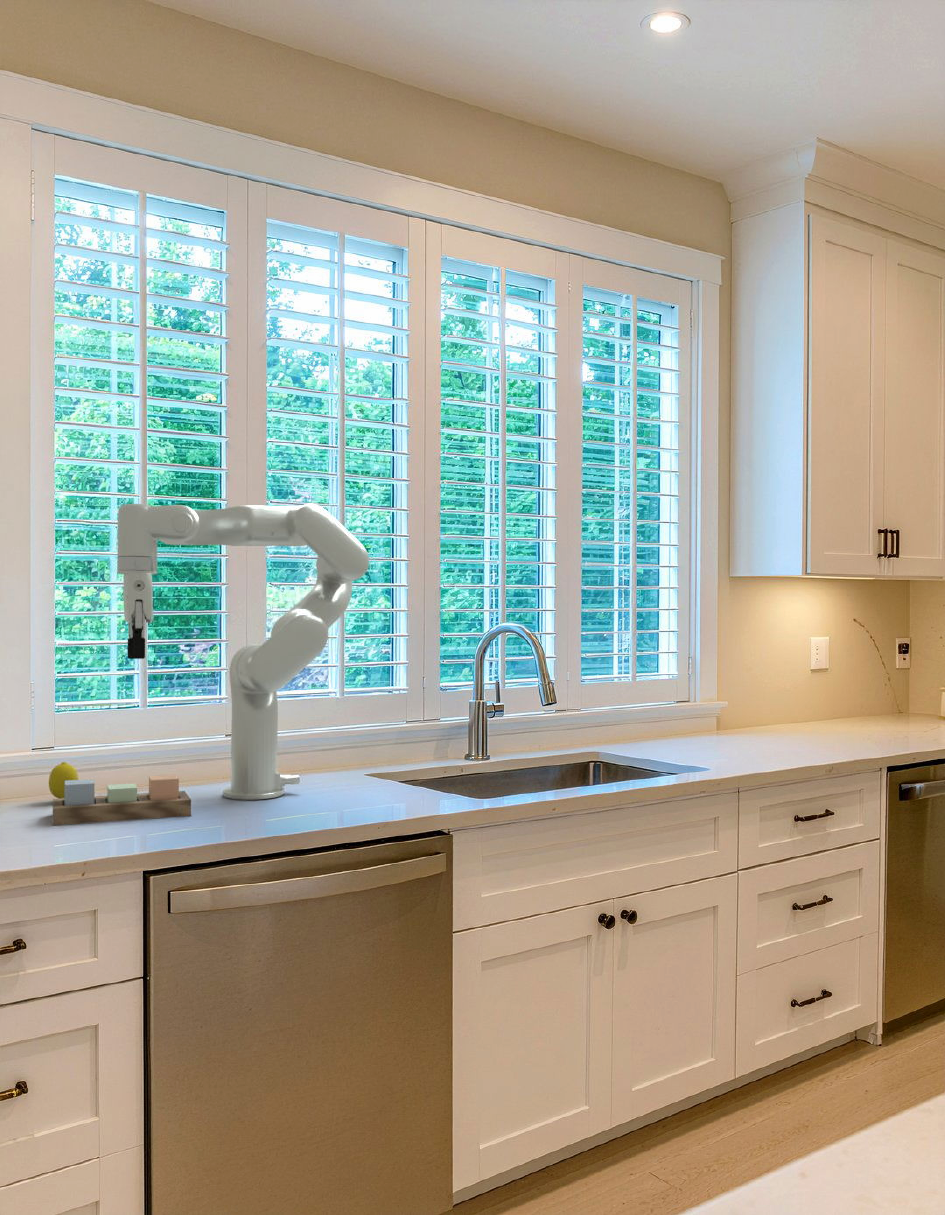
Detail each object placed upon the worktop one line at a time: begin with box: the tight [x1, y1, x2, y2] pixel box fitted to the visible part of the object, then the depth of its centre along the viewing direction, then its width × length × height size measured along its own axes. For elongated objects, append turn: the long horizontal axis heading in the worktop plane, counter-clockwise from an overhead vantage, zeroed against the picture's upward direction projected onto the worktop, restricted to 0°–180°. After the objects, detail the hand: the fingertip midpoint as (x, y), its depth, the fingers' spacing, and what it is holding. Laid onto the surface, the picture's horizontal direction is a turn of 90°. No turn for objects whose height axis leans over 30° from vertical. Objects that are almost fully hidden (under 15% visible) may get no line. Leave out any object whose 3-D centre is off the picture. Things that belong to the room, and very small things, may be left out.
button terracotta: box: [148, 774, 180, 800], centre depth 189 cm, size 5×5×5 cm
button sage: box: [106, 783, 138, 803], centre depth 186 cm, size 5×5×5 cm
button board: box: [52, 790, 192, 826], centre depth 186 cm, size 24×10×3 cm, turn 113°
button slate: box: [65, 778, 95, 806], centre depth 183 cm, size 5×5×5 cm
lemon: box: [48, 761, 79, 799], centre depth 198 cm, size 6×6×8 cm
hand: (136, 658), depth 196 cm, fingers closed
